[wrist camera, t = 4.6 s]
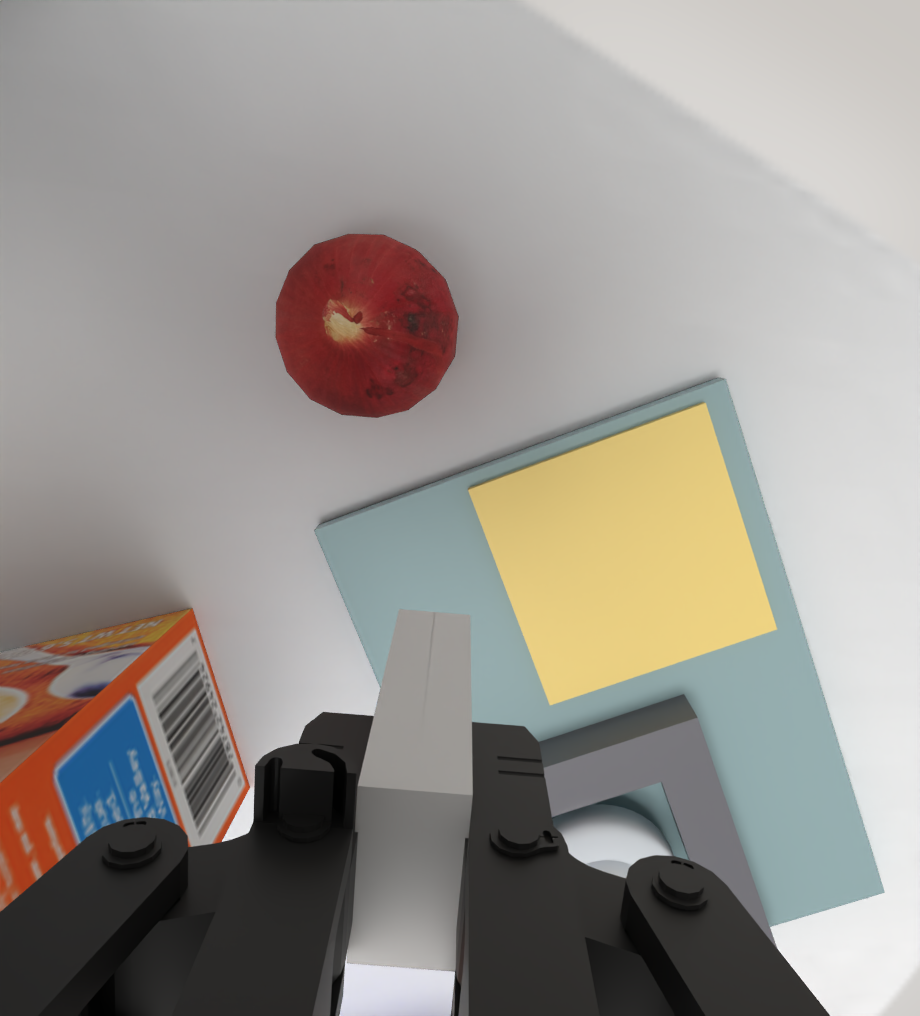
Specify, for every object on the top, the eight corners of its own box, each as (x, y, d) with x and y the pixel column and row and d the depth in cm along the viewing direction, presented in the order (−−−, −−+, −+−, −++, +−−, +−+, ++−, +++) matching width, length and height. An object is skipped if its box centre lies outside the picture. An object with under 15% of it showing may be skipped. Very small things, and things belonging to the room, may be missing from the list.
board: (319, 524, 31) (314, 530, 30) (717, 377, 30) (725, 378, 29) (512, 985, 35) (513, 1003, 34) (873, 876, 33) (884, 892, 32)
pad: (468, 488, 30) (467, 489, 29) (702, 402, 29) (705, 403, 28) (548, 701, 31) (549, 705, 31) (773, 625, 30) (777, 629, 30)
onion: (466, 254, 29) (460, 221, 21) (454, 414, 30) (444, 438, 22) (306, 242, 29) (241, 205, 21) (300, 402, 30) (236, 422, 22)
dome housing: (419, 781, 32) (415, 809, 30) (684, 694, 31) (697, 717, 29) (513, 1003, 34) (515, 1043, 32) (764, 928, 33) (782, 965, 31)
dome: (500, 831, 31) (503, 902, 27) (648, 784, 31) (672, 849, 27) (551, 957, 32) (561, 1043, 28) (695, 914, 32) (725, 995, 28)
